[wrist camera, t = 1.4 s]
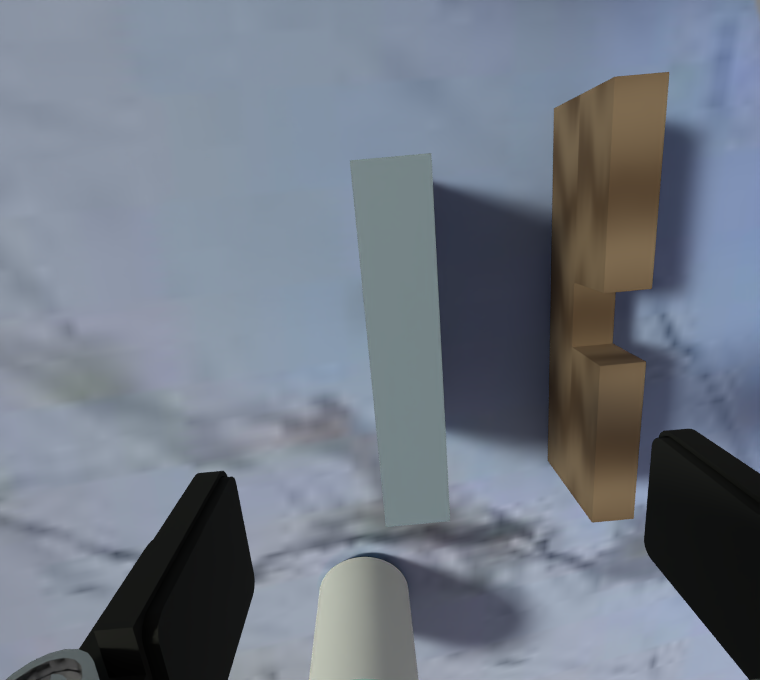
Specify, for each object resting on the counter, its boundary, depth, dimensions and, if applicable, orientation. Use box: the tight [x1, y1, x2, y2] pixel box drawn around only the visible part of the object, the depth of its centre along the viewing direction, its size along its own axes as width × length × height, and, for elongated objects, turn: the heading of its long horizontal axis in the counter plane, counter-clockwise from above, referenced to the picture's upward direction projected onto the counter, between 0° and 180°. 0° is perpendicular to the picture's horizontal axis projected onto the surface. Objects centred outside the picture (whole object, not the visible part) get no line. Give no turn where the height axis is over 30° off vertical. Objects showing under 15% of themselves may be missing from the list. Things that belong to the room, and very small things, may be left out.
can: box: [309, 557, 418, 680], centre depth 31 cm, size 7×7×12 cm
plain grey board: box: [350, 153, 450, 527], centre depth 25 cm, size 16×3×12 cm, turn 5°
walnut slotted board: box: [548, 72, 669, 522], centre depth 28 cm, size 24×2×7 cm, turn 5°
